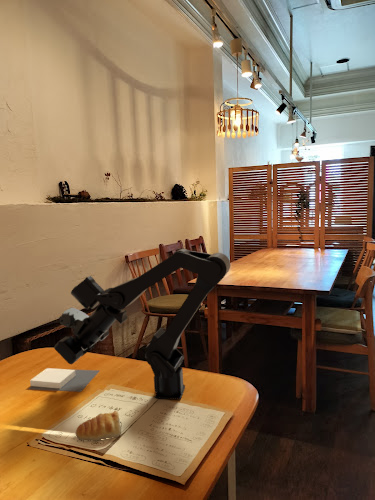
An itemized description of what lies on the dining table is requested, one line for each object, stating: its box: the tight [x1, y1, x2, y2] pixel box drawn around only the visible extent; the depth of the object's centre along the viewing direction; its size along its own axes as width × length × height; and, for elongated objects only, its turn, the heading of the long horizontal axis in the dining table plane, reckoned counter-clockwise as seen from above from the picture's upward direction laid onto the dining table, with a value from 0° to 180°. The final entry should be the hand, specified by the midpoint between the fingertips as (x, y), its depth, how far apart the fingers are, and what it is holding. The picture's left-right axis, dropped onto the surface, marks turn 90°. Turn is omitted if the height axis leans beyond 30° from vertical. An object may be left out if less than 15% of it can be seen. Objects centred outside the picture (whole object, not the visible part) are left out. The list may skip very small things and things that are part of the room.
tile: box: [29, 367, 76, 389], centre depth 102 cm, size 2×8×9 cm
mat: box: [28, 368, 100, 393], centre depth 102 cm, size 15×12×1 cm
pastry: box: [75, 410, 122, 442], centre depth 78 cm, size 9×7×4 cm
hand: (66, 359), depth 100 cm, fingers closed
